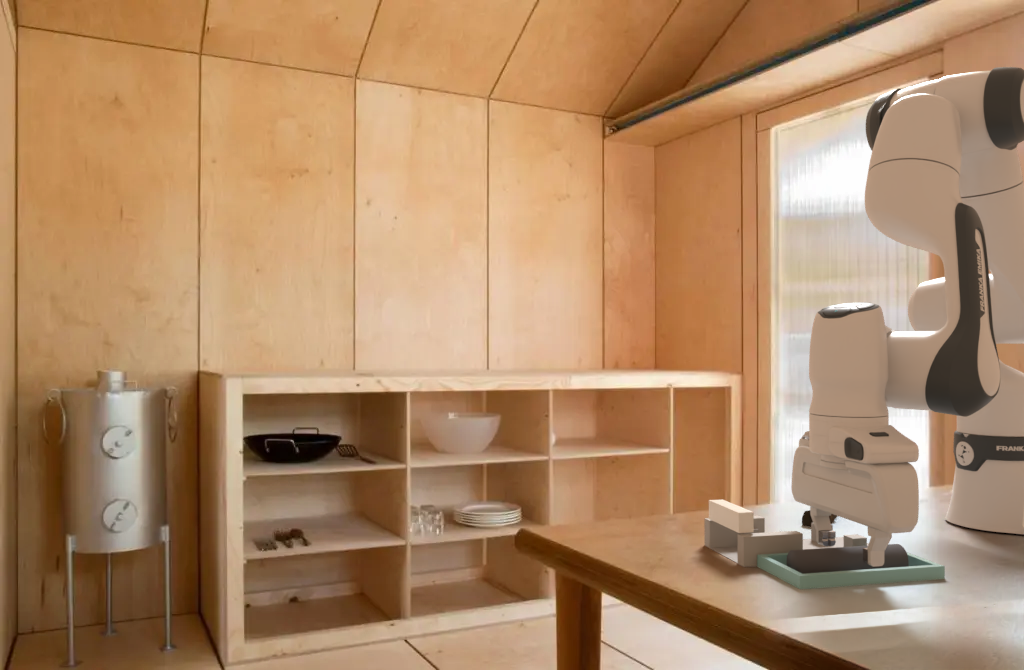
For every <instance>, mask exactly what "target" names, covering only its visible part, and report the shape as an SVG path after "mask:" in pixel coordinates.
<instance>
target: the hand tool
mask: <svg viewBox="0 0 1024 670" xmlns="http://www.w3.org/2000/svg"><path fill="white" fill-rule="evenodd" d="M837 517H838V516H837V515H834V514H831V516H829V519H830V523H831V524H832V523H833V522H834V520H835V519H836V518H837ZM811 523H813V521H812V518H811V515H810V509H809V510H804V512H803V515H802V518H801V525H802V526H804V527H810V528H811Z"/></svg>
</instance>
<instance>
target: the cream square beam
mask: <svg viewBox="0 0 1024 670" xmlns="http://www.w3.org/2000/svg"><path fill="white" fill-rule="evenodd" d="M754 514H755V513H754V511H752V510H749V509H747V508H744V507H742V506H740V505H738V504H735V503H732V502H729V501H727V500H725V499H709V500H708V518H709V519H710V520H712V521H714V522H716V523H719V524H721V525H723V526H725V527H727V528H729V529H731V530H733V531H736V532H738V533H748V532H754V516H755V515H754Z"/></svg>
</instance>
